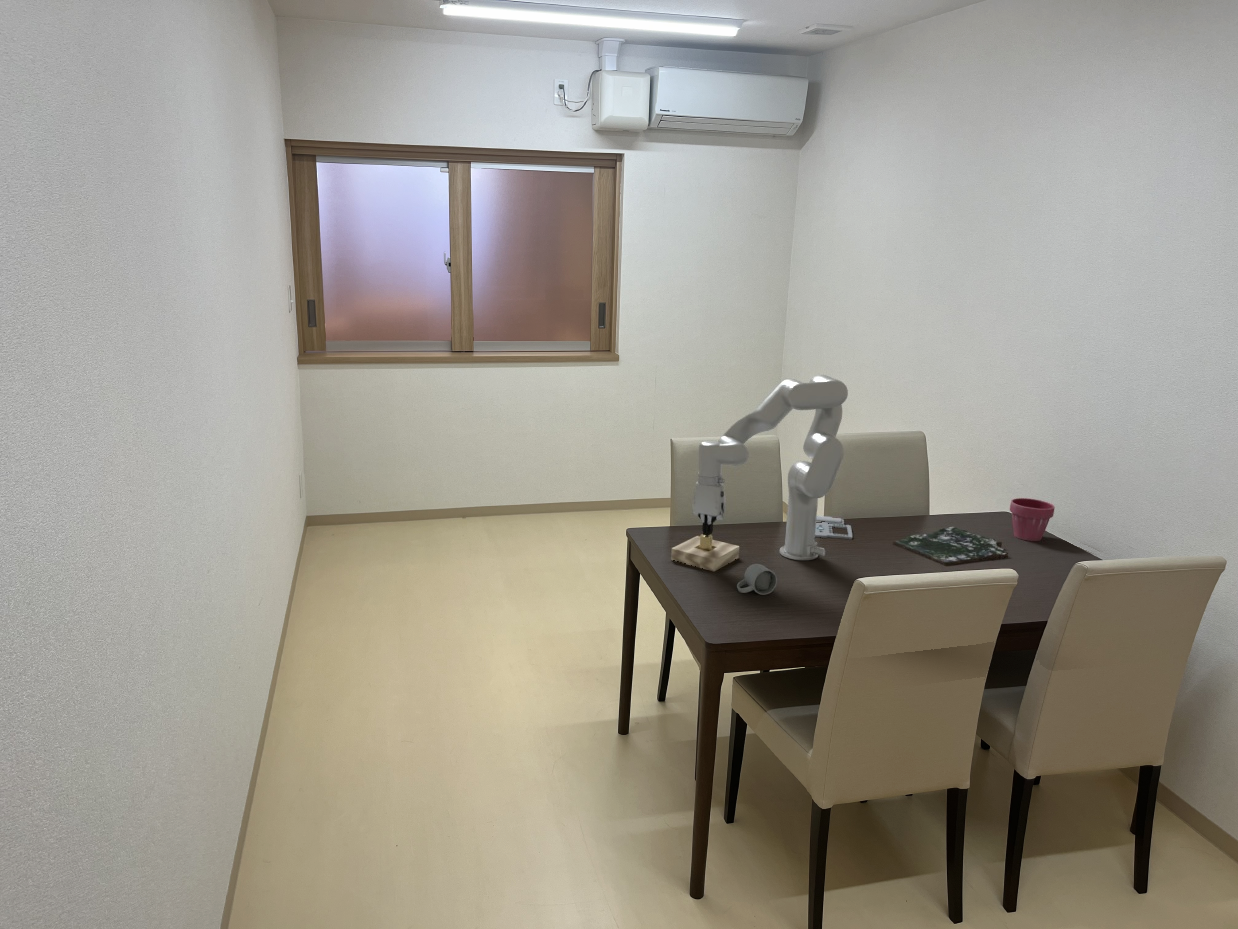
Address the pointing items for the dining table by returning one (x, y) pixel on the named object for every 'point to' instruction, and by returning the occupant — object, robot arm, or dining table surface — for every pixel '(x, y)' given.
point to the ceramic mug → (758, 580)
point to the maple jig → (705, 554)
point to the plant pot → (1030, 518)
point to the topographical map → (952, 546)
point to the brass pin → (706, 542)
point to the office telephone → (826, 529)
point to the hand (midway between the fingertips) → (707, 534)
